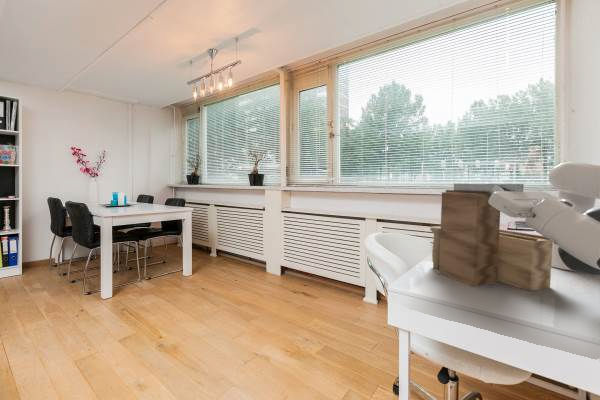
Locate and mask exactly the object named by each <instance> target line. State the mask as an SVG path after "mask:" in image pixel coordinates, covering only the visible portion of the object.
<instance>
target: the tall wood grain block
mask: <svg viewBox="0 0 600 400" xmlns="http://www.w3.org/2000/svg"><path fill="white" fill-rule="evenodd" d="M491 195H492V194H483V191H465V190H454V189H445V192H444V191H443V192H441V209H440V210H441V213H440V214H441V215H440V226H441V234H440V261H439V269H438V275H439V274H440V275H441V276H444V277H447V278H449V279H453V280H455V281H458V282H460V283H462V284H466V285H467V286H470V287H473V288H474V287H480V286H485V285H492V284H493V285H494V284H497V283H498V280H497V268H498V248H499V229H500V227H501V225H500V224H501V212H500V211H499V210H497V209H496V208H494V207H492V206H491V205H490V204H489V203H488V200H489V198H490V197H491Z"/></svg>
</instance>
